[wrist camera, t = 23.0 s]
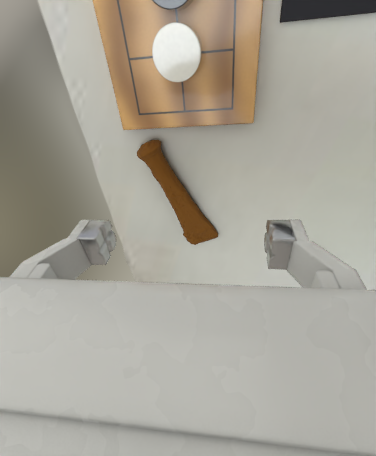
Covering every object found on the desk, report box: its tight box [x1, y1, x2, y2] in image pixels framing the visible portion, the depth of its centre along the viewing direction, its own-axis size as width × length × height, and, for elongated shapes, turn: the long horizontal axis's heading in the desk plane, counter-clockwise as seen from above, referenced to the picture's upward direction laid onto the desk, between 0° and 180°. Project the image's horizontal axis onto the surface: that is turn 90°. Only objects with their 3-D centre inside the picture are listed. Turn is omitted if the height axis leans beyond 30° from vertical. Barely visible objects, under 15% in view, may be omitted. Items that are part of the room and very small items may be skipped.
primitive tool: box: [137, 140, 218, 245], centre depth 37 cm, size 19×6×4 cm, turn 28°
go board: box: [93, 0, 263, 130], centre depth 25 cm, size 16×20×2 cm
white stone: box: [152, 22, 203, 82], centre depth 24 cm, size 5×5×3 cm
